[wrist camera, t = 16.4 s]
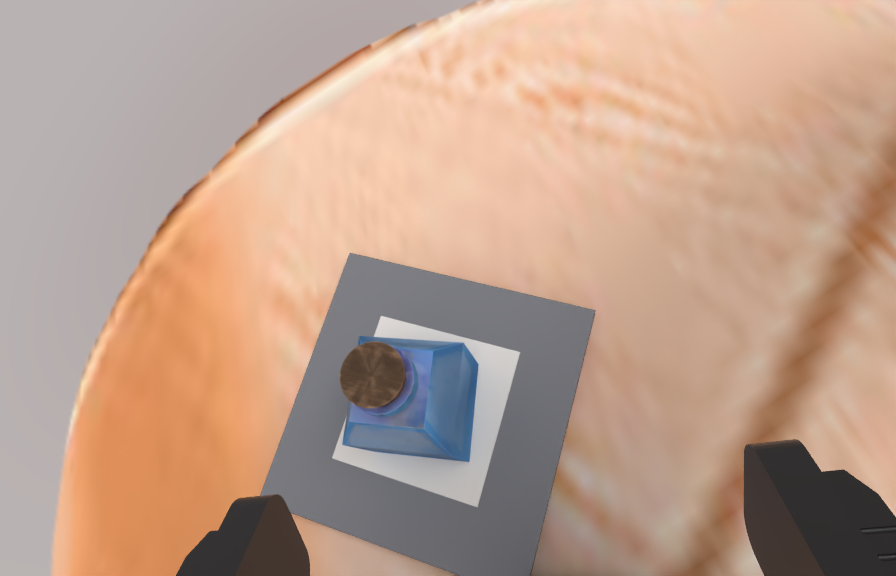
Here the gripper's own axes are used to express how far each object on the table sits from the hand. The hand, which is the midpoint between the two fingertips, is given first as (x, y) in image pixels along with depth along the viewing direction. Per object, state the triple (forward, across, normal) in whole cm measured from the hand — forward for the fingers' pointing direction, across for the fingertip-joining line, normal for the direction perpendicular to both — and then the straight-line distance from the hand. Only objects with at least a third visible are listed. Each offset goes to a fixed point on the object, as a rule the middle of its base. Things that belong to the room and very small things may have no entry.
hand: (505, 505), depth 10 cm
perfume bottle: (+24, +7, +16) cm, 29 cm away
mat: (+24, +8, +16) cm, 30 cm away
